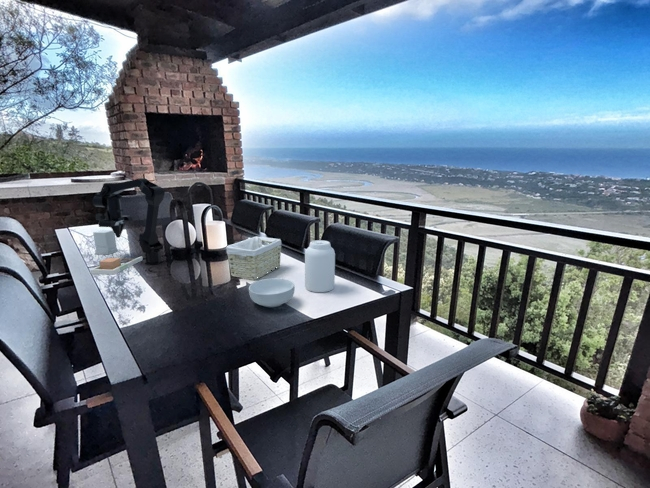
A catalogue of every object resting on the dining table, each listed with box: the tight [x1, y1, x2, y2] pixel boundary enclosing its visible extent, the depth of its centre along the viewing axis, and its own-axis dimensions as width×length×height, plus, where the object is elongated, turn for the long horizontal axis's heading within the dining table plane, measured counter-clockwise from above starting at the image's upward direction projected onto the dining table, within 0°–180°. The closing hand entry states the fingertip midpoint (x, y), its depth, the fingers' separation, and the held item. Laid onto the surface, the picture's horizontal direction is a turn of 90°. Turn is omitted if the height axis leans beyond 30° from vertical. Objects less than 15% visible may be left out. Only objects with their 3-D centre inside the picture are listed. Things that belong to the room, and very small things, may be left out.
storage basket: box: [225, 235, 282, 281], centre depth 159 cm, size 24×16×15 cm
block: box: [99, 257, 122, 270], centre depth 160 cm, size 6×6×5 cm
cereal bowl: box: [248, 277, 295, 308], centre depth 125 cm, size 17×17×7 cm
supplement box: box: [92, 229, 118, 255], centre depth 188 cm, size 7×7×13 cm
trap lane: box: [89, 255, 143, 276], centre depth 165 cm, size 11×24×2 cm, turn 178°
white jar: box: [304, 239, 336, 293], centre depth 139 cm, size 12×12×20 cm
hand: (118, 237), depth 174 cm, fingers closed
